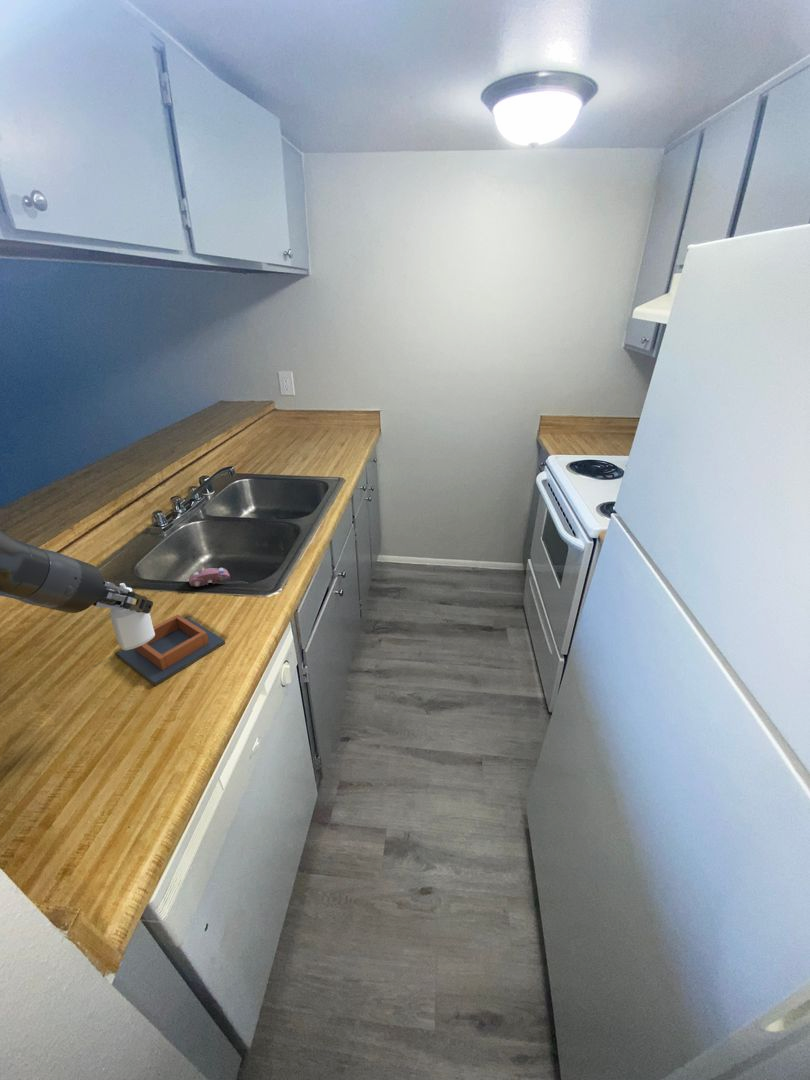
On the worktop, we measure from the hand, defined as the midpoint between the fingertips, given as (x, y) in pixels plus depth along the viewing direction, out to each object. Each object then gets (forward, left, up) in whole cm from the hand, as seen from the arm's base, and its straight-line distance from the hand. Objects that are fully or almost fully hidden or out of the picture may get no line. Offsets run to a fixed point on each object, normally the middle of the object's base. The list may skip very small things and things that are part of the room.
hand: (138, 604), depth 82 cm
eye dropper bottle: (-2, -1, -7) cm, 7 cm away
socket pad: (+8, +8, -20) cm, 23 cm away
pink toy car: (+28, +23, -20) cm, 41 cm away
